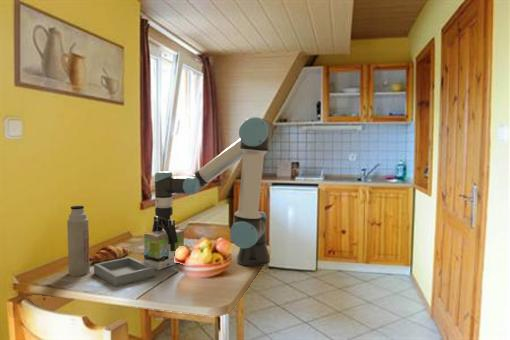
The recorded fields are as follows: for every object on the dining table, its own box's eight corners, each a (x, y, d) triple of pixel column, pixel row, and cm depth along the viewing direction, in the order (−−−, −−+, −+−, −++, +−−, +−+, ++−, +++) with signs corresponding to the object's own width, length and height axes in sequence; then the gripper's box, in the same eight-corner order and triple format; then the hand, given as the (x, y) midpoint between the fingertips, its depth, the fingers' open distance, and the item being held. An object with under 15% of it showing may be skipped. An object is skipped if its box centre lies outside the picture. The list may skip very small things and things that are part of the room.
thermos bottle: (93, 270, 168) (92, 205, 166) (81, 276, 160) (79, 208, 158) (76, 269, 169) (75, 204, 168) (64, 275, 162) (62, 207, 160)
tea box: (159, 270, 168) (159, 236, 167) (143, 266, 173) (143, 233, 172) (184, 262, 180) (184, 229, 179) (169, 258, 186) (168, 227, 185)
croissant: (125, 259, 195) (120, 244, 197) (137, 253, 190) (132, 237, 192) (86, 270, 177) (81, 253, 179) (98, 263, 172) (93, 246, 174)
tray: (154, 277, 159) (154, 267, 159) (116, 287, 148) (116, 276, 148) (130, 265, 175) (130, 256, 174) (94, 273, 164) (93, 264, 163)
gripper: (143, 204, 181) (143, 251, 182) (170, 210, 164) (171, 262, 165) (157, 202, 186) (158, 248, 187) (185, 208, 169) (186, 259, 171)
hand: (164, 255), depth 176 cm, fingers closed on tea box, 11 cm apart
